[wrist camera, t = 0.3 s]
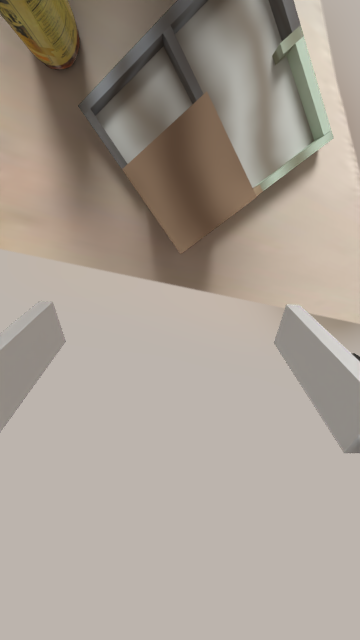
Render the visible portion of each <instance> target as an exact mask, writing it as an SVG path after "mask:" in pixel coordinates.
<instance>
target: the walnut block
mask: <svg viewBox="0 0 360 640" xmlns="http://www.w3.org/2000/svg"><path fill="white" fill-rule="evenodd" d="M122 170H123V172H124V173H125V175H126V176H127V178H128V179H129V180H130V182H131V183H132V185H133V186H134V188H135V189H136V191H137V192H138V193H139V195H140V196H141V198H142V199H143V201H144V202H145V204H146V205H147V206H148V208H149V209H150V211H151V212H152V214H153V215H154V217H155V218H156V219H157V221H158V222H159V224H160V225H161V227H162V228H163V230H164V231H165V232H166V234H167V235H168V237H169V238H170V240H171V241H172V243H173V244H174V245H175V247H176V248H177V250H178V251H179V253H180V254H182V253H183V252H185V251H186V250H187V249H189V248H190V247H191V246H193V245H194V244H195V243H197V242H198V241H199V240H201V239H202V238H203V237H205V236H206V235H207V234H209V233H210V232H211V231H213V230H214V229H215V228H217V227H218V226H219V225H221V224H222V223H223V222H225V221H226V220H227V219H229V218H230V217H231V216H233V215H234V214H235V213H236V212H238V211H239V210H240V209H242V208H243V207H244V206H246V205H247V204H248V203H250V202H251V201H252V200H254V199H255V198H256V197H257V196H256V194H255V192H254V190H253V188H252V186H251V184H250V182H249V179H248V177H247V175H246V173H245V171H244V169H243V167H242V165H241V162H240V160H239V158H238V156H237V154H236V152H235V150H234V148H233V146H232V143H231V141H230V139H229V137H228V135H227V133H226V131H225V129H224V126H223V124H222V122H221V120H220V118H219V116H218V114H217V112H216V110H215V107H214V105H213V103H212V101H211V99H210V97H209V95H208V93H207V92H206V93H205V94H203V95H202V96H201V97H200V98H199V99H198V100H197V101H196V102H195V103H194V104H193V105H191V106H190V107H189V108H188V109H187V110H186V111H185V112H184V113H183V114H182V115H181V116H179V117H178V118H177V119H176V120H175V121H174V122H173V123H172V124H171V125H170V126H169V127H167V128H166V129H165V130H164V131H163V132H162V133H161V134H160V135H159V136H158V137H157V138H156V139H154V140H153V141H152V142H151V143H150V144H149V145H148V146H147V147H146V148H145V149H144V150H142V151H141V152H140V153H139V154H138V155H137V156H136V157H135V158H134V159H133V160H132V161H130V162H129V163H128V164H127V165H126V166H125V167H124V168H123V169H122Z"/></svg>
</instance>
